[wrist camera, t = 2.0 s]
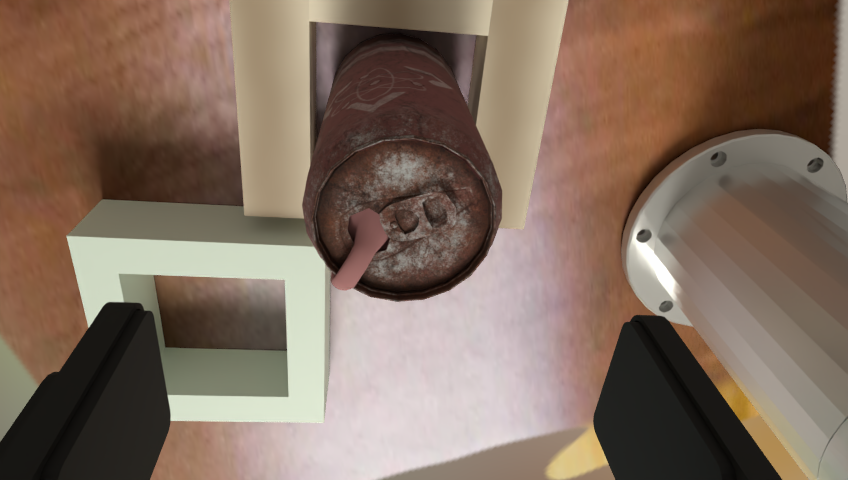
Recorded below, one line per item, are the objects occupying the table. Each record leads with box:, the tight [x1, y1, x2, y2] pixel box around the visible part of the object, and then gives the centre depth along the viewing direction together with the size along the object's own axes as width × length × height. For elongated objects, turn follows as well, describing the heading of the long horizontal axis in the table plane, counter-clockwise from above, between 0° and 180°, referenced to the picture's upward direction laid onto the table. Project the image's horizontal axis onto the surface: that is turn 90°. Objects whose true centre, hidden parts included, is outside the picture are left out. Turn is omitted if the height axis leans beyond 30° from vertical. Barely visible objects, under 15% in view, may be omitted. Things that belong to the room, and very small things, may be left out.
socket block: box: [229, 0, 568, 229], centre depth 28 cm, size 14×11×3 cm
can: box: [302, 33, 502, 302], centre depth 23 cm, size 6×6×14 cm
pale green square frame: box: [67, 199, 330, 423], centre depth 33 cm, size 12×12×4 cm
